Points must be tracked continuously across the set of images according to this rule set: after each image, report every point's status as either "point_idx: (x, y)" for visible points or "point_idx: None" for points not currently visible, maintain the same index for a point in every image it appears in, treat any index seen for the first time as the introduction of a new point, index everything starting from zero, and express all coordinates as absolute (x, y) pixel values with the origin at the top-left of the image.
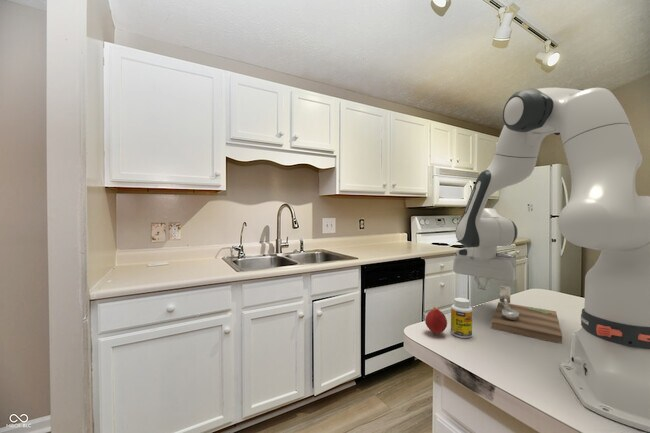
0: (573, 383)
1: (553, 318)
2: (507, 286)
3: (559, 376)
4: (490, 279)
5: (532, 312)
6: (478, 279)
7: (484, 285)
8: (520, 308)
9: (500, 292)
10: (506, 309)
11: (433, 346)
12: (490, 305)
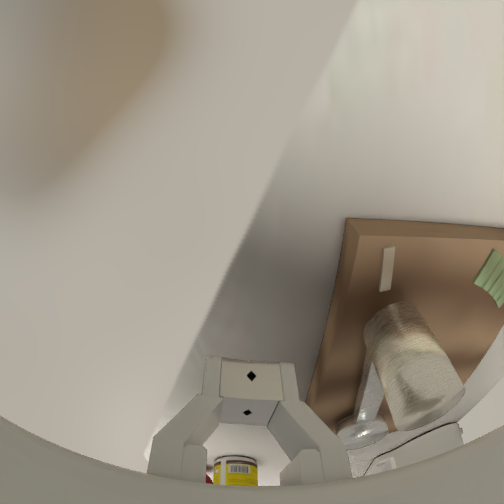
0: (369, 474)
1: (493, 333)
2: (458, 387)
3: (365, 464)
4: (340, 466)
5: (466, 316)
6: (192, 437)
7: (271, 424)
8: (445, 295)
9: (384, 393)
10: (356, 435)
11: (211, 479)
12: (296, 205)
